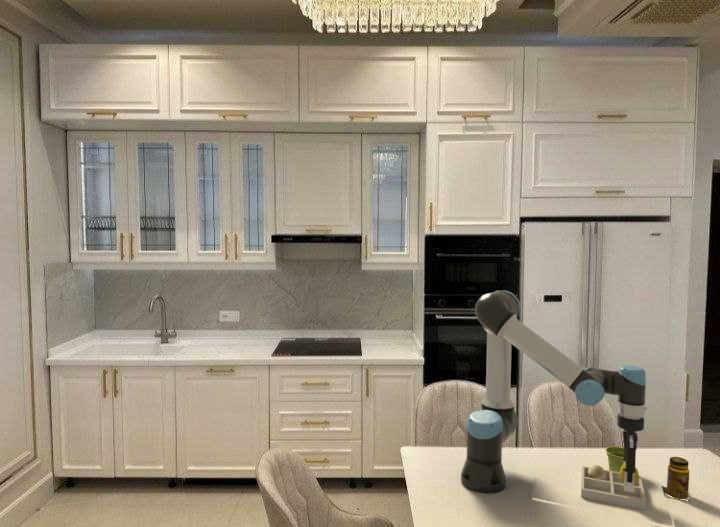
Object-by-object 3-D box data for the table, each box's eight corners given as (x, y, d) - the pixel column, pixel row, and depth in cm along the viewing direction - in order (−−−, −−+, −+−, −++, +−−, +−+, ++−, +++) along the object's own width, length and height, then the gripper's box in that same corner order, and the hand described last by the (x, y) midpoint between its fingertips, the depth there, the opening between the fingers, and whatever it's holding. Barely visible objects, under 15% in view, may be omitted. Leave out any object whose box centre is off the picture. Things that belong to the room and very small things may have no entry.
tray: (580, 499, 167) (581, 488, 167) (581, 475, 184) (581, 465, 184) (645, 512, 160) (646, 501, 159) (640, 486, 176) (640, 476, 176)
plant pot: (640, 480, 180) (641, 456, 180) (615, 482, 179) (616, 458, 178) (622, 468, 190) (623, 445, 189) (598, 470, 188) (599, 447, 188)
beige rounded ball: (587, 483, 176) (588, 467, 176) (587, 476, 181) (588, 461, 181) (606, 487, 174) (606, 470, 173) (605, 480, 179) (606, 464, 179)
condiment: (689, 502, 166) (691, 465, 165) (659, 495, 170) (661, 460, 170) (688, 492, 172) (690, 457, 172) (659, 486, 177) (660, 452, 176)
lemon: (641, 492, 162) (641, 467, 162) (621, 490, 163) (622, 466, 163) (635, 484, 168) (636, 460, 167) (616, 482, 169) (617, 458, 168)
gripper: (647, 427, 154) (644, 502, 156) (641, 408, 171) (638, 476, 173) (619, 423, 157) (616, 497, 159) (616, 405, 174) (613, 472, 176)
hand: (628, 486), depth 166 cm, fingers closed on lemon, 5 cm apart
